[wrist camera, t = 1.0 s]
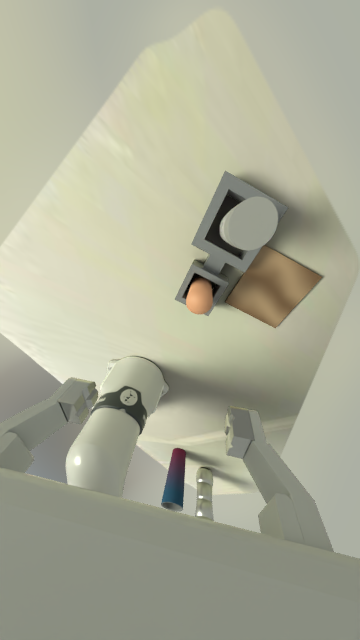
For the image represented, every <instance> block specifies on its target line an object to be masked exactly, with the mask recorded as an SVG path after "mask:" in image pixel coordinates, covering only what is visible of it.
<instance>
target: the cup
mask: <svg viewBox="0 0 360 640" xmlns="http://www.w3.org/2000/svg"><path fill="white" fill-rule="evenodd" d="M185 457H186V452H185V451H184V450H183V449H179V448H175V449H174V450H173V453H172V457H171V462H170V466H169V471H168V476H167V480H166V485H165V490H164V494H163V499H162V503H161V505H162V506H163V507H164V508H166V509H168V510H171V511H182V510H183V496H184V476H185Z"/></svg>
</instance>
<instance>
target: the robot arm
mask: <svg viewBox="0 0 360 640" xmlns="http://www.w3.org/2000/svg"><path fill="white" fill-rule="evenodd" d="M95 387H96V384H95V382H92V381H87V380H82V379H77V378H72V377H71V378H69V379H67V381H66V382H65V383H64V384H63V385H62V386H61V387H60V388H59V389H58V390H57V391H56V392H55V393H54V394H53V395H52V396H51V397H50V398H49V400H44V401H42V402H40V403H38V404H36V405H34V406H32V407H30V408H28V409H26V410H24V411H22V412H20V413H18V414H16V415H15V416H13V417H11V418H9V419H7V420H5V421H3V422H1V423H0V640H360V559H359V558H355V557H351V556H347V555H343V554H339V553H335V552H334V551H333V548H332V545H331V543H330V540H329V538H328V535H327V533H326V530H325V527H324V524H323V522H322V519H321V517H320V514H319V511H318V509H317V506H316V503H315V501H314V500H313V498H312V497H311V496H310V494H309V493H308V492H307V491H306V489H305V488H304V487H303V486H302V484H301V483H300V482H299V480H298V479H297V478H296V477H295V476H294V474H293V473H292V472H291V470H290V469H289V468H288V467H287V465H286V464H285V463H284V461H283V460H282V459H281V458H280V456H279V455H278V454H277V453H276V451H275V450H274V449H273V448H272V446H271V445H270V444H268V443H266V439H265V435H264V431H263V428H262V424H261V420H260V416H259V413H258V411H256V410H250V409H246V408H240V407H234V406H229V407H228V414H226V417H225V433H226V435H227V438H226V454H227V455H229V456H233V457H237V458H241V459H243V461H244V463H245V465H246V467H247V469H248V470H249V472H250V474H251V476H252V478H253V480H254V481H255V483H256V485H257V487H258V489H259V491H260V492H261V494H262V496H263V498H264V500H265V502H266V503H267V505H266V506H265V507H264V509H263V510H262V511H261V512H260V513H259V515H258V518H259V524H260V531H261V533H257V532H253V531H249V530H245V529H241V528H237V527H233V526H230V525H226V524H222V523H218V522H214V521H210V520H206V519H202V518H198V517H194V516H190V515H186V514H182V513H179V512H175V511H171V510H167V509H163V508H159V507H155V506H151V505H147V504H143V503H139V502H135V501H132V500H128V499H123V498H122V494H123V488H124V483H125V478H126V474H127V470H128V467H129V464H130V461H131V458H132V455H133V451H134V448H135V445H136V442H137V439H138V436H139V435H140V434H141V433H142V430H143V429H144V426H145V424H146V419H147V417H149V416H150V415H151V414H152V413H154V412H155V410H156V408H157V405H158V402H159V399H160V398H161V397H162V396H163V395H164V394H166V393H167V392H168V390H169V386H168V385H167V384H166V382H165V381H164V379H163V375H162V373H161V371H160V370H159V368H158V367H157V366H156V365H155V364H153V363H152V362H150V361H148V360H146V359H144V358H140V357H126V358H123V359H121V360H111V361H109V363H108V365H107V376H106V378H105V380H104V381H103V383H102V384H101V386H100V388H101V390H100V393H101V397H100V399H99V400H98V401H97V398H98V391H97V390H96V389H95ZM96 401H97V402H96ZM95 403H96V404H95ZM94 404H95V405H94ZM93 406H94V408H93V410H92V412H91V417H90V418H89V420H88V421H87V423H86V424H85V426H84V427H83V429H82V431H81V432H80V434H79V436H78V437H77V438H76V440H75V442H74V443H73V445H72V446H71V448H70V450H69V452H68V455H67V459H66V473H67V480H68V484H65V483H61V482H57V481H53V480H49V479H45V478H42V477H38V476H33V475H29V474H26V473H25V472H26V470H27V469H28V468H29V467H30V465H31V464H32V462H33V461H34V457H33V455H32V454H31V453H30V451H31V450H32V449H34V448H35V447H36V446H38V445H39V444H40V443H42V442H43V441H44V440H46V439H47V438H48V437H50V436H51V435H52V434H54V433H55V432H56V431H58V430H59V429H60V428H62V427H63V426H64V425H65V424H67V423H68V422H71V423H76V424H82V423H83V421H84V420H85V418H86V417H87V415H88V413H89V409H90V408H92V407H93Z"/></svg>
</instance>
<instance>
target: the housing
mask: <svg viewBox="0 0 360 640" xmlns="http://www.w3.org/2000/svg"><path fill="white" fill-rule="evenodd" d="M226 195H228V196H230V197H232V198H233V199H235V200H237V201H239V202H240V203H241V202H243V201H244V200H246V199H248V198H251V197H256V196H260V197H265V198H267V199H269V200H270V201H271V202H272V203H273V204H274V205H275V207H276V209H277V212H278V222H279V221H280V219H281V218H282V216H283V215H284V213H285V212H286V210H287V209H288V207H287V206H285V205H283V204H282V203H280V202H278V201H277V200H275V199H273V198H271V197H270V196H268V195H266V194H265V193H263V192H261V191H259V190H258V189H256V188H254V187H252V186H251V185H249V184H247V183H246V182H244V181H242V180H240V179H239V178H237V177H235V176H234V175H232V174H230V173H228V172H227V171H225V172H224V174H223V177H222V179H221V181H220V183H219V185H218V187H217V190H216V192H215V194H214V196H213V198H212V201H211V203H210V205H209V207H208V209H207V211H206V214H205V216H204V218H203V220H202V222H201V224H200V227H199V229H198V231H197V233H196V235H195V237H194V240H193V242H192V245H194V246H196V247H197V248H199V249H201V250H203V251H205V252H207V253H209V255H208V257H207V259H206V261H205V263H204V264H202V263H200V262H198V261H196V260H194V261H193V263H192V265H191V267H190V269H189V271H188V273H187V275H186V277H185V279H184V281H183V283H182V285H181V287H180V290H179V292H178V294H177V296H176V298H175V300H177V301H179V302H181V303H183V304H185V305H186V298H187V295H188V292H189V291H188V290H186V288H187V286H188V284H189V282H190V280H191V278H192V276H193V274H194V273H197V274H199V275H201V276H203V277H205V278H207V279H208V280H210V281H212V282H214V283H216V285H215V286H214V288H213V290H212V297H213V304H212V307H211V309H210V310H209V311H208V312H206V313H204V314H205V315H207V316H209V314H210V313H211V311H212V309H213V308H214V306H215V305H216V303H217V302H218V300H219V299H220V297H221V295H222V294H223V292H224V291H225V289H226V288H227V286H228V284H229V282H228V279H227V276H225V275H223V274H221V273H220V271H221V269H222V268H223V266H224V264H225V263H227V264H229V265H231V266H233V267H235V268H237V269H239V270H240V271H242V272H244V273H245V272H246V270H247V269H248V267H249V266H250V264H251V263H252V261H253V260H254V258H255V257H256V255H257V254H258V252H259V251H260V249H261V248H262V247H260V248H258V249H256V250H251V251H246V250H242V252H241V254H240V255H239V257H238V256H236V255H234V254H233V253H231V252H229V251H227V250H225V249H223V248H221V247H220V246H218V245H216V244H214V243H212V242H210V241H209V240H207V239H205V237H206V235H207V233H208V231H209V229H210V227H211V224H212V222H213V220H214V218H215V216H216V214H217V212H218V210H219V208H220V206H221V204H222V202H223V200H224V198H225V196H226Z"/></svg>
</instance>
